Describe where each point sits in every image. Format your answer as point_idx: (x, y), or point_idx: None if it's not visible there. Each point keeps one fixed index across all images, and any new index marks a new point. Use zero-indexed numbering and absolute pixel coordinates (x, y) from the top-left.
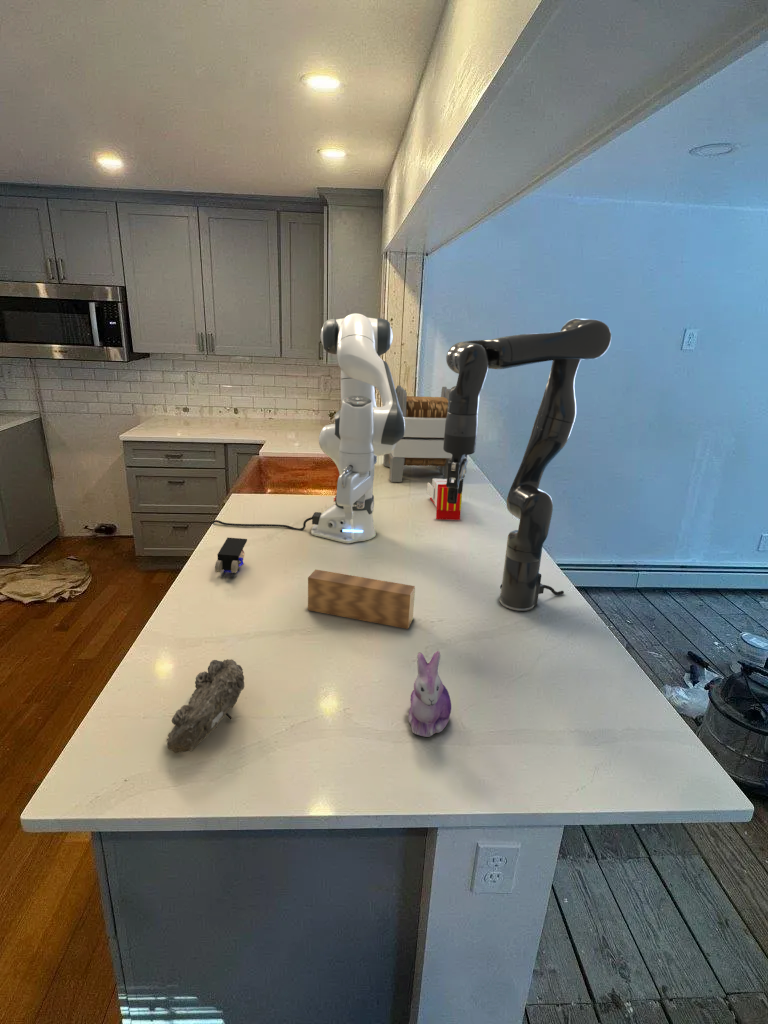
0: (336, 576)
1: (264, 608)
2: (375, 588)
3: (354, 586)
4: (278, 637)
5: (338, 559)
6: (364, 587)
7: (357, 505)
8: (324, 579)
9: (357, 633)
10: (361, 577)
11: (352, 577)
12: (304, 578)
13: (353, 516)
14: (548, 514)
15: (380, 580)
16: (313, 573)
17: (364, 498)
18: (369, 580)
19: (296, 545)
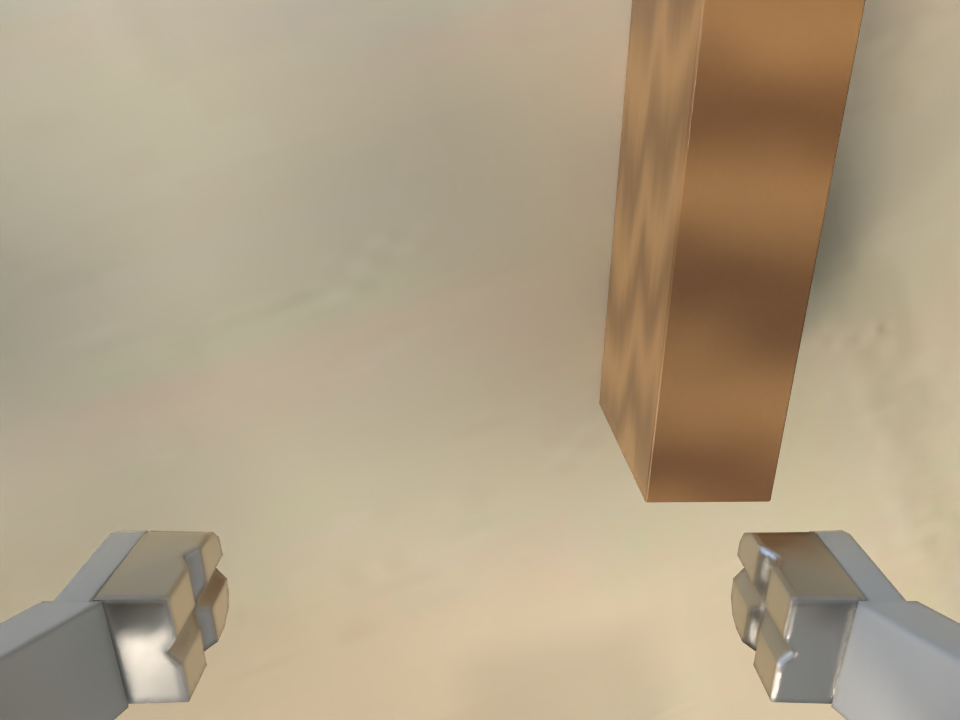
0: (716, 348)
1: (720, 571)
2: (854, 4)
3: (827, 181)
4: (946, 428)
5: (88, 465)
6: (845, 99)
7: (199, 641)
8: (778, 403)
9: (869, 90)
10: (692, 173)
11: (707, 238)
12: (388, 535)
13: (756, 538)
14: None
15: (707, 4)
16: (709, 492)
17: (19, 655)
18: (728, 95)
19: None
